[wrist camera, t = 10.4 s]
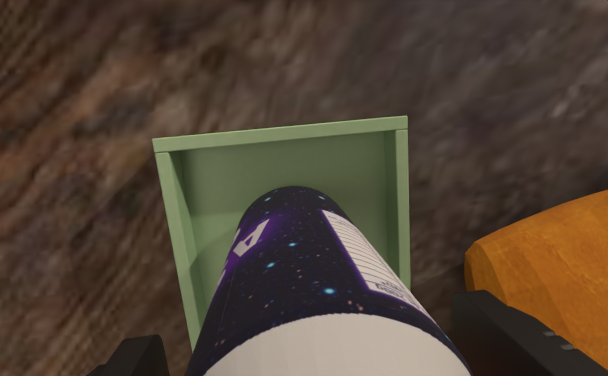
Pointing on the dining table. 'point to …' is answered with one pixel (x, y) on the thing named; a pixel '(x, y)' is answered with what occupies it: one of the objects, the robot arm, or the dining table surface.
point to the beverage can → (314, 301)
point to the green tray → (275, 174)
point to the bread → (552, 270)
